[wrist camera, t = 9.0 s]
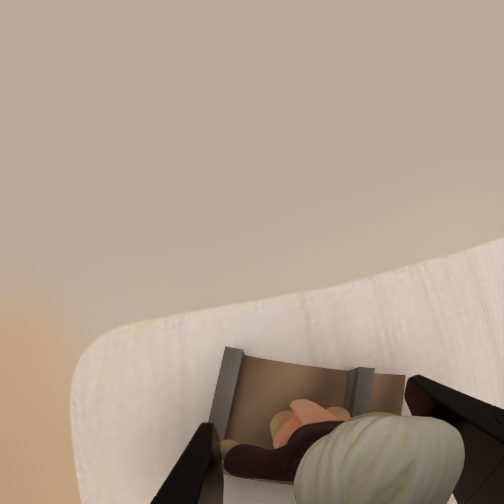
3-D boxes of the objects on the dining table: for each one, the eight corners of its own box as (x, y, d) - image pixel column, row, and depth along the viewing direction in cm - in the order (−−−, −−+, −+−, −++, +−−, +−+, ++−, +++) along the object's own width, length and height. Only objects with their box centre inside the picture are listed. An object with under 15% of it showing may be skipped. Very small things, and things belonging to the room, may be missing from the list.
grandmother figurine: (360, 383, 15) (534, 314, 4) (372, 444, 13) (554, 466, 2) (224, 410, 15) (131, 424, 3) (235, 474, 13) (183, 612, 2)
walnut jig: (401, 376, 21) (420, 371, 18) (382, 484, 16) (399, 493, 13) (229, 353, 22) (225, 346, 19) (204, 466, 18) (196, 476, 15)
